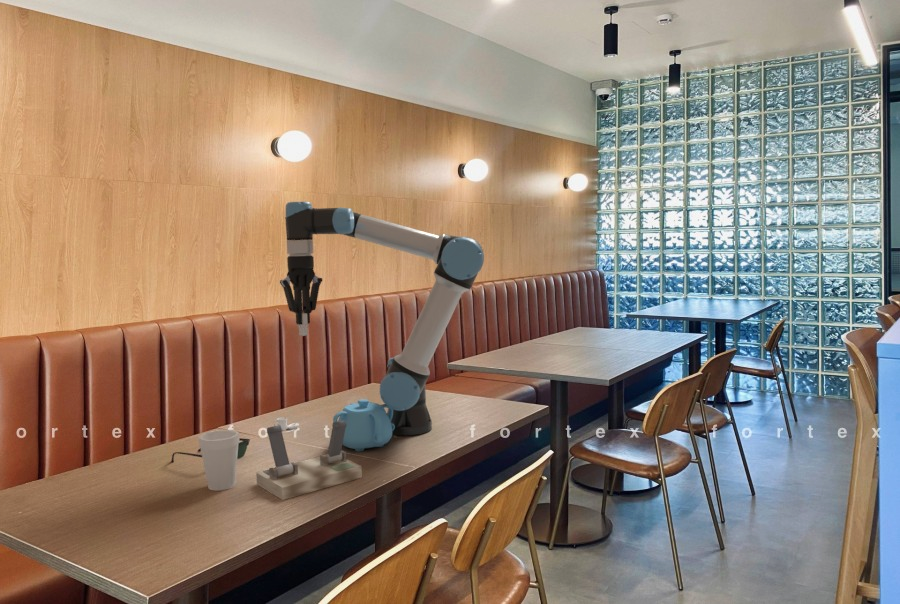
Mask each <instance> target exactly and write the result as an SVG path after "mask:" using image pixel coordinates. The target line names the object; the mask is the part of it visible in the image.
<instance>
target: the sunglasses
mask: <svg viewBox="0 0 900 604" xmlns="http://www.w3.org/2000/svg"><path fill="white" fill-rule="evenodd" d="M250 441H251V438H241V437H239V444H238V455H237V460H238V459H241V458H244V456H245V455H246V452H247V448H248V446H249V445H250ZM197 452H201V449H200V448H199V449H198V450H197ZM175 454H176V455H177V454H178V455H179V454H180V455H185V456H186V455H187V456H192V457H198V458H202V454H198V453H197V454H196V453H189V452H181V451H179V452H178V451H176V452H173V453H172V456H171V462H172V463H174V462H175V460H174V459H175Z"/></svg>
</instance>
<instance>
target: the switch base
mask: <svg viewBox="0 0 900 604" xmlns="http://www.w3.org/2000/svg"><path fill="white" fill-rule="evenodd" d="M341 453H342V460H340V461H336V462H332V463H328V458H327V457H326V456H325V454H324V455H323V454H322V455H321V454H320V455H319V456H317V457H313V458H309V459H305V460H302V461H297V462H290V463H291V464H292V465H293V473H290V474H286V475H282V476H278V477H277V470H276V469H274V468H275V467H269V468H268V469H265V470H262V471H258V472H255V474H256V475H255V477H256V485H257V486H259V487H261V488H262V489H263V490H265V491H267V492H269V493H271V494H272V495H273V496H275V497H277V498H279V499H280V500H282V501H284V500H288V499H291V498H295V497H298V496H301V495H306V494H308V493H312V492H315V491H319V490H322V489H326V488H329V487H334V486H337V485H340V484H343V483H344V484H345V483H347V482H350V481H351V482H352V481H353V480H354V481H355V480H358V479H362V477H363V475H362V473H363V471H362V470H363V469H362V465H360V464H358V463H356V462H354V461H351V460H349V459H347V452H346V451H344V450H342V449H341Z"/></svg>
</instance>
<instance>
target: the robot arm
mask: <svg viewBox="0 0 900 604" xmlns="http://www.w3.org/2000/svg"><path fill="white" fill-rule="evenodd" d="M284 219H285V230H286V233H285V234H286V236H285V237H286V254H288V255H287V257H286V261H287V270H288V271H287V273H286V277H285V278H284V279H281V280H279V283H280V285H281V287H282V288H283V292H284V296H285V298H286V303H287V307H288V311H289V312H292V313H294V314H295V323H296V325H298V335H299V336H302V337H304V336H305V337H306V336H309V326H308V325H309V324H310V323H311V316H310V315H311V313H312V312H313V311H315V310H316V309H317V302H318V298H319V297H318V296H319V291H320V287H321V284H322V282H323V277H319V276H317V275H316V273H315V271H314V268H315V267H314V266H315V265H314V264H315V262H314V260H315V259H314V257H315V256H313V254H314V241H313V240H314V238H313V236H314V235H343V236H347V237H350V238H353V239H354V238H355V239H357V240H362V241H366V242H370V243H373V244H376V245H380V246H383V247H387V248H390V249H394V250H397V251H400V252H404V253H408V254H411V255H415V256H418V257H420V258H421V257H423V258H425V259H426V258H427V259H429V260H433V262H434V263H435V265H436V267H435V269H434V272H433V276H434V278H435V281H434V282H433V283H434V284H433V286H432V287H431V290H430V292H429V294H428V296H427V298H426V300H425V303H424V305H423V307H422V309H421V311H420V313H419V315H418V318H417V319H416V323H414V326H413V328H412V330H411V333H410V334H409V337H408V339H407V341H406V344H405V345H404V348H403V349H402V352H401V353H399V354H397V355H394V357H390V358H388V360H387V371H386V373H385V376H383V378H382V380H381V382H380V384H379V396H380V399H381V400H382V402H383V404H386V405H387V406H388V407H389V408H391V409H393V417H392V420H391V423H393V424H394V425H395V429H394V430H393V431H392V435H394V436H416V435H422V434H425V433H428V432H430V431H431V430H432V429H433V426H432V425H433V422H432V418H431V415H430V413H429V410H428V407H427V402H426V401H427V400H426V399H427V398H426V391H427V390H426V383H427V381H428V378H429V377H430V375H431V371H430V368H429V365H430V363H431V360H432V359H433V356H434V354H435V352H436V350H437V347H438V346H439V343H440V342H441V339H442V337H443V335H444V333H445V332H446V329H447V326H448V325H449V323H450V321H451V319H452V317H453V314H454V312H455V310H456V308H457V305H458V304H459V302H460V299H461V298H462V295H463V294H464V293H465V292H468V291H470V290H471V289H472V286H473V285H474V282H475V280H476V278H477V276H478V274H479V272H480V271H481V270H482V268H483V266H484V262H485V254H484V249H483V247H482V246H481V245H480V243H479V242H478V241H477V240H475V238H471V237H468V236H455V235H450V234H446V233H443V234H441V235H439V234H438V235H437V234H434V233H430V232H427V231H423V230H420V229H417V228H416V229H415V228H412V227H408V226H405V225H401V224H398V223H396V222H395V223H393V222H391V221H387V220H383V219H380V218H377V217H372V216H369V215H366V214H361V213H358V212H355V211H353V209H351V208H349V207H327V208H324V207H322V208H314V207H313V206H312V203H311V202H309V201H289V202H287V203H286V205H285V217H284ZM291 284H292V287H291ZM386 413H387V415H389V409H388V408H387V411H386ZM391 426H392V425H391Z"/></svg>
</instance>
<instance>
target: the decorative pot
mask: <svg viewBox="0 0 900 604" xmlns="http://www.w3.org/2000/svg"><path fill="white" fill-rule="evenodd" d="M385 408H386V409H387V410H388V409H389V415H387V411H386V410H385ZM392 417H393V409H391V408H389V407H388V406H387V405H386V404H385V403H383V404H380V403H376V402H370V400H369V399H367V398H362V399H358V400H357V403H355V402H353V403H350V404H349V405H346V406H344V407H343V409H342V411H338V412H336V414H334V416H333V418H332V423H333V422H337V421H342V420H345V421H346V423H347V427H346V428H345V433H344V438H343V444H342V446H344V447H346V448H349V449H353V450H354V451H356V452H363V451H364V450H365V449H371V448H382V447H384V446H385V445H386V444H388V443H389V442H390V440H391V439H392V437H393V434H392V431H393V430H394V429H395V425H394V424H393V423H391V420H392ZM391 425H392V426H391Z"/></svg>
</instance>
